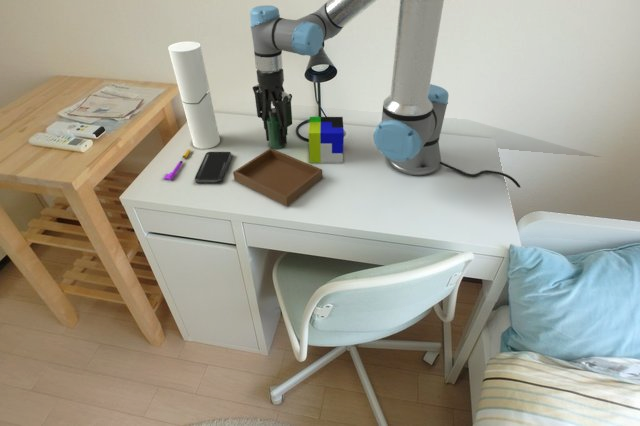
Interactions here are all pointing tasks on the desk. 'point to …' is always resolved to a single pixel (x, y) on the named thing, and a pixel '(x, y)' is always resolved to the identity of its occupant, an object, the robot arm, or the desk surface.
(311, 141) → the puzzle toy
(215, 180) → the phone
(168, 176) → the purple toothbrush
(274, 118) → the spice bottle
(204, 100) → the container
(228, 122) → the desk surface
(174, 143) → the desk surface
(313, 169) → the tray
